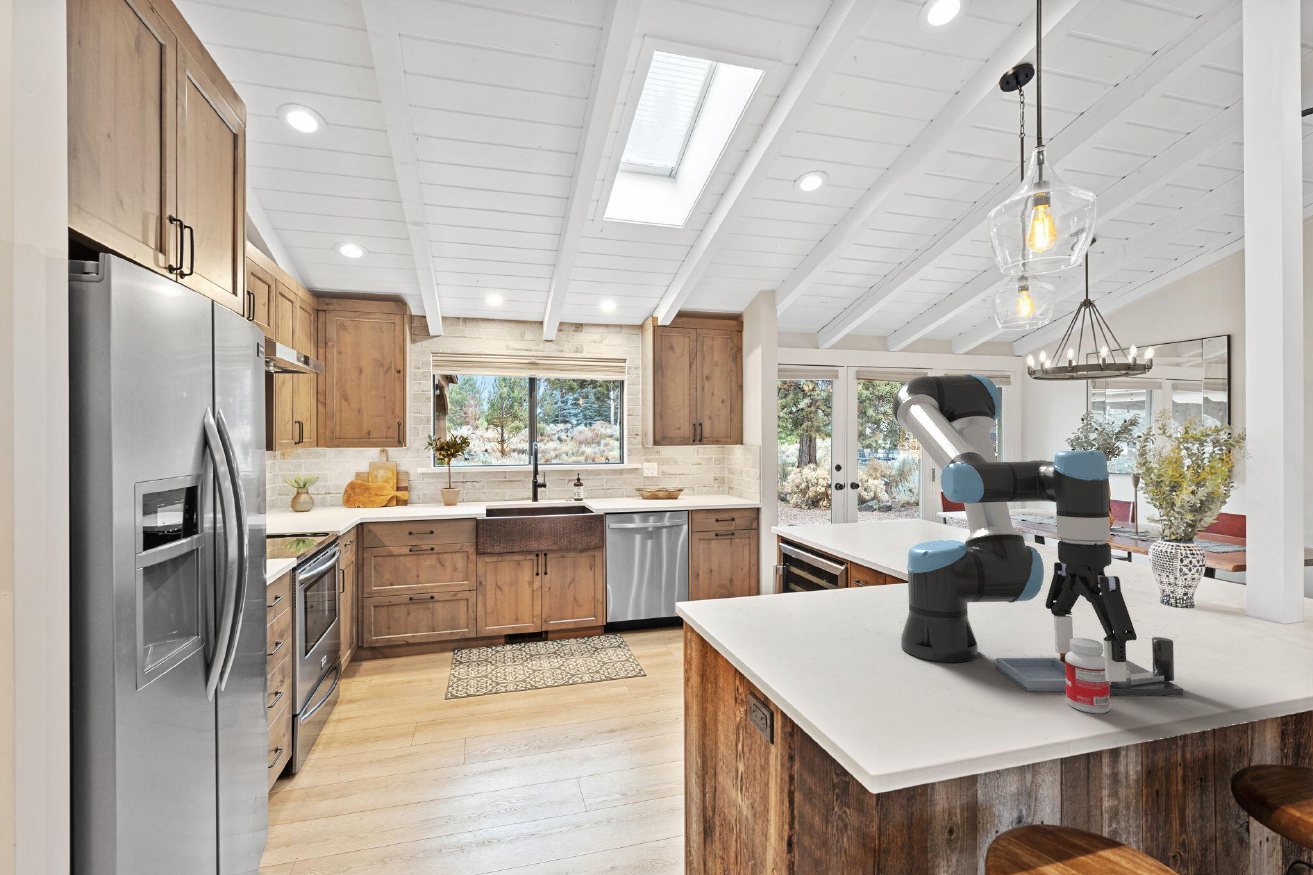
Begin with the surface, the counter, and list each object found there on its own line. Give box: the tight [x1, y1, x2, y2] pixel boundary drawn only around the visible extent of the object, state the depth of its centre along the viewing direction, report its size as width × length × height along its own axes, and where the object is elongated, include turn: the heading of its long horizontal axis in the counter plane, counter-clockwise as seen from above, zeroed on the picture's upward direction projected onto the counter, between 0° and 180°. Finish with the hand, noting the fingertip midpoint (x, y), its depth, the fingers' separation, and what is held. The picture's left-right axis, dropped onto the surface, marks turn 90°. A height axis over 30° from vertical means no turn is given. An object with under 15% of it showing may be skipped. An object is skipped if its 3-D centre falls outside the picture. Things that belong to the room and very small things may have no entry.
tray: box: [995, 657, 1066, 693], centre depth 118 cm, size 12×12×2 cm
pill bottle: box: [1065, 637, 1111, 714], centre depth 106 cm, size 6×6×11 cm
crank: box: [1109, 636, 1175, 688], centre depth 112 cm, size 13×4×7 cm, turn 102°
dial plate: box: [1059, 653, 1184, 697], centre depth 117 cm, size 14×14×7 cm
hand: (1088, 665), depth 105 cm, fingers open, 13 cm apart
